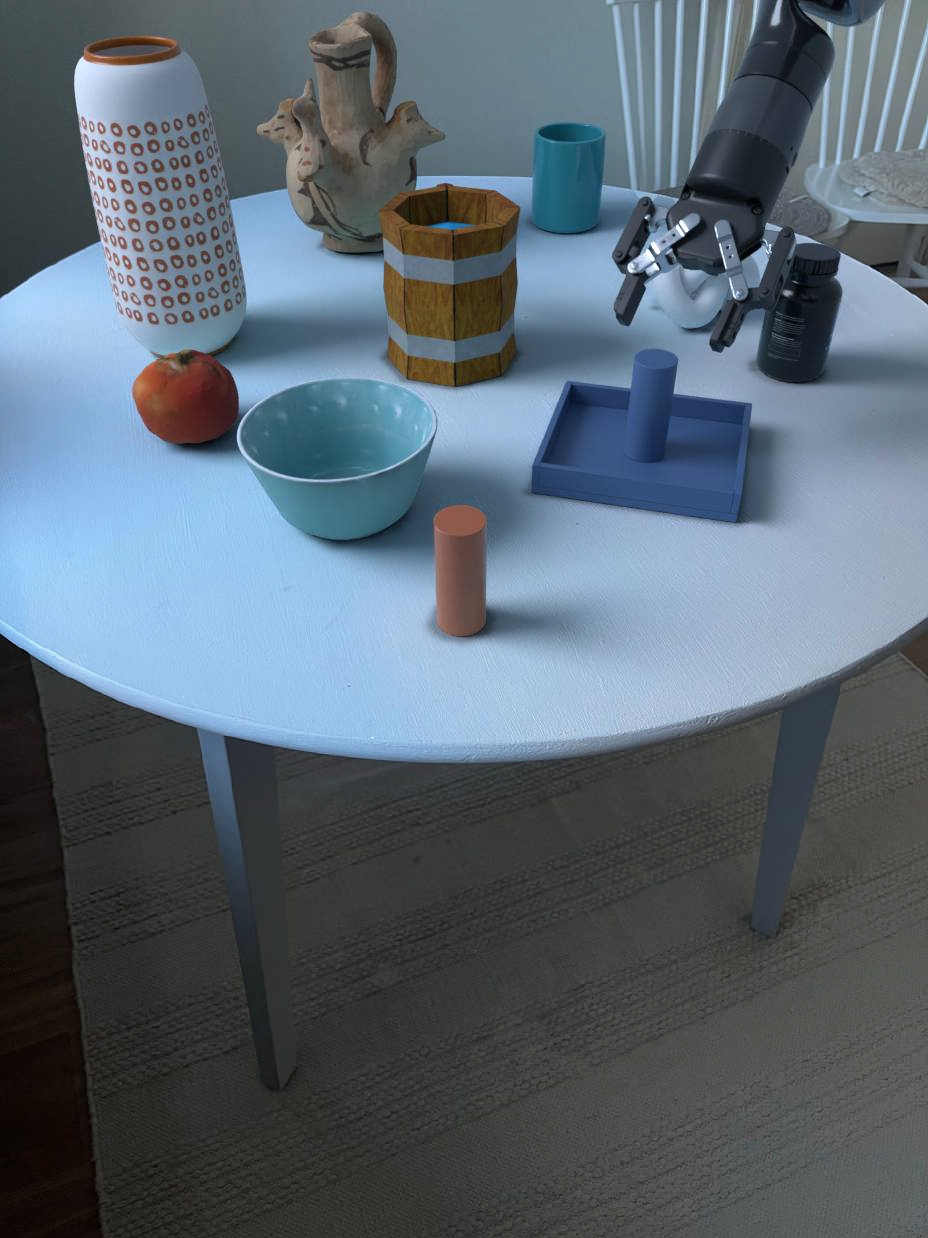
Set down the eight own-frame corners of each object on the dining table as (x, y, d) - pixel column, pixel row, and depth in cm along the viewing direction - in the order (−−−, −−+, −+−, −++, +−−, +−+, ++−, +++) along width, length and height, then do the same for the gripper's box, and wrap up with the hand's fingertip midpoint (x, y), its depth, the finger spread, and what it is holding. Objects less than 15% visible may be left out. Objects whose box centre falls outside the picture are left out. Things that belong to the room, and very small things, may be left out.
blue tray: (746, 429, 93) (752, 402, 91) (736, 522, 82) (742, 494, 80) (564, 406, 97) (566, 380, 95) (531, 492, 86) (532, 464, 84)
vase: (162, 384, 100) (91, 72, 82) (105, 338, 108) (28, 43, 90) (276, 345, 107) (235, 47, 88) (215, 304, 115) (165, 22, 96)
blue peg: (666, 444, 90) (680, 351, 84) (662, 465, 87) (675, 370, 81) (626, 438, 91) (637, 346, 85) (620, 459, 88) (631, 365, 82)
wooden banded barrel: (522, 384, 100) (528, 232, 90) (387, 389, 99) (377, 237, 90) (505, 301, 115) (508, 163, 105) (387, 305, 114) (378, 167, 104)
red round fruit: (126, 430, 94) (105, 351, 89) (213, 398, 98) (198, 321, 93) (173, 471, 89) (154, 390, 83) (263, 436, 93) (250, 356, 88)
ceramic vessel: (267, 229, 132) (238, 11, 115) (402, 207, 138) (393, -4, 121) (311, 281, 119) (286, 44, 103) (457, 255, 125) (455, 26, 109)
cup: (601, 204, 138) (608, 116, 131) (597, 236, 129) (605, 143, 122) (535, 201, 139) (539, 114, 132) (527, 233, 130) (531, 141, 123)
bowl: (265, 584, 77) (249, 494, 71) (241, 475, 88) (225, 390, 83) (462, 547, 80) (461, 459, 74) (414, 447, 91) (410, 364, 86)
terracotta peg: (491, 608, 74) (492, 508, 68) (478, 640, 72) (479, 539, 66) (444, 600, 75) (442, 501, 69) (430, 631, 72) (426, 531, 67)
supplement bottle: (837, 376, 101) (868, 258, 93) (780, 389, 99) (807, 270, 91) (796, 348, 106) (822, 233, 98) (741, 359, 104) (763, 243, 96)
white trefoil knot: (692, 349, 106) (705, 265, 100) (615, 310, 113) (622, 229, 107) (765, 320, 111) (781, 239, 105) (686, 285, 118) (697, 207, 112)
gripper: (658, 112, 82) (578, 295, 83) (828, 141, 76) (740, 339, 77) (678, 163, 89) (604, 332, 90) (835, 193, 83) (755, 374, 83)
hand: (667, 335), depth 83 cm, fingers open, 8 cm apart
